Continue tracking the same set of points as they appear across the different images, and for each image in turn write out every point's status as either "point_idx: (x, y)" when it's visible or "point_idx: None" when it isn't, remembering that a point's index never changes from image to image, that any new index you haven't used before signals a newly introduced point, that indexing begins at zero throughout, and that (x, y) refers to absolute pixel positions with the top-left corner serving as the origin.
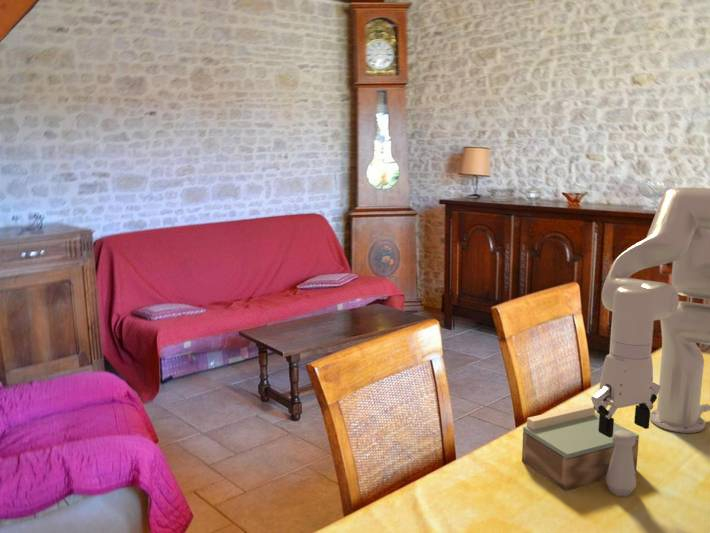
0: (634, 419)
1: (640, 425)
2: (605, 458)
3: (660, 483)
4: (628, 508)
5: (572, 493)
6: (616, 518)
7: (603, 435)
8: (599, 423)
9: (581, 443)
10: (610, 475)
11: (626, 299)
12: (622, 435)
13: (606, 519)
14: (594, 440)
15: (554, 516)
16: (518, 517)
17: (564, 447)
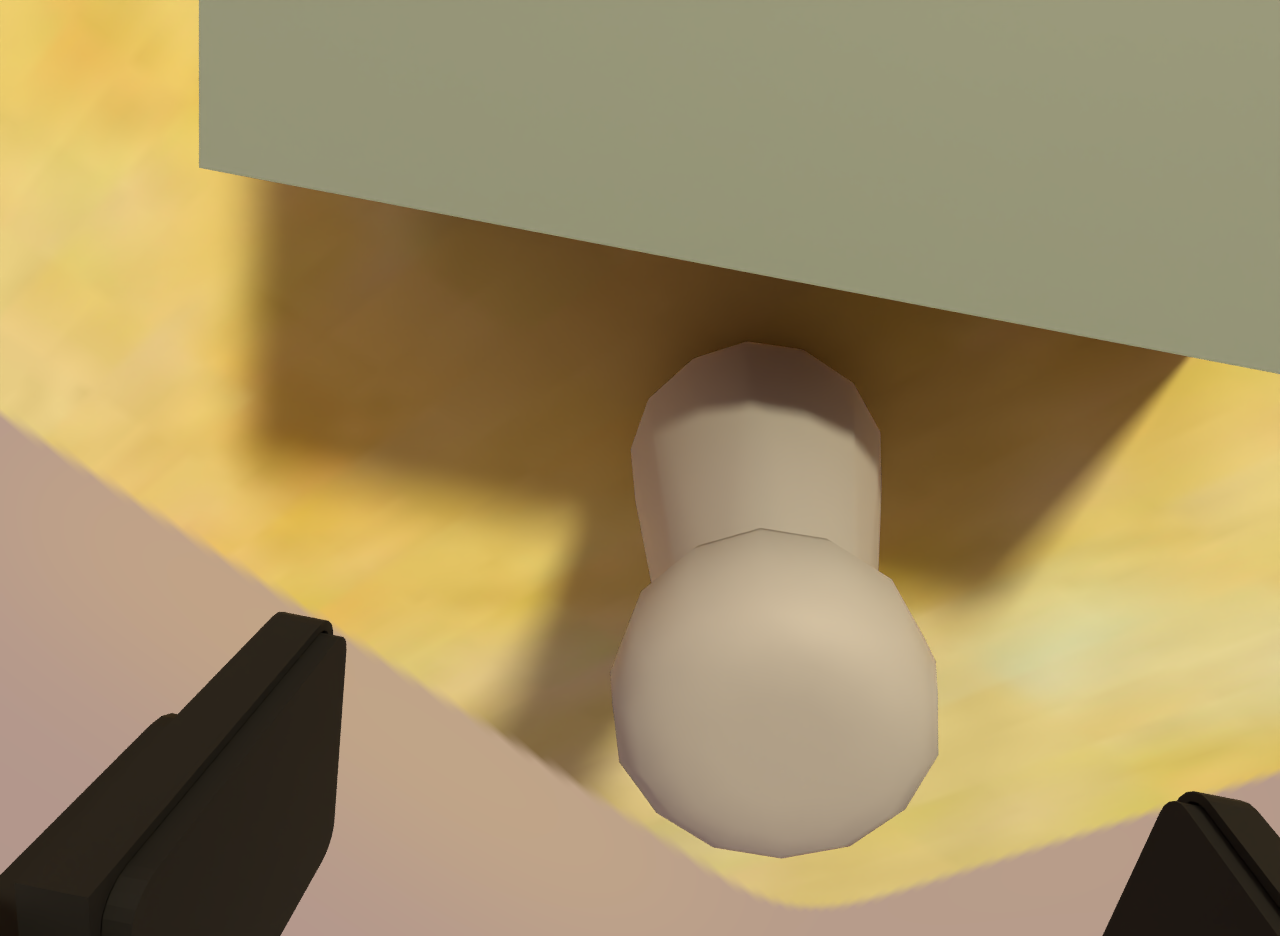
0: (1210, 851)
1: (1123, 919)
2: None
3: (1127, 556)
4: (599, 588)
5: (416, 226)
6: (431, 601)
7: (1103, 100)
8: (95, 782)
9: (605, 70)
10: (645, 450)
11: None
12: (680, 771)
13: (366, 571)
14: (838, 126)
15: (81, 347)
16: None
17: (301, 7)
